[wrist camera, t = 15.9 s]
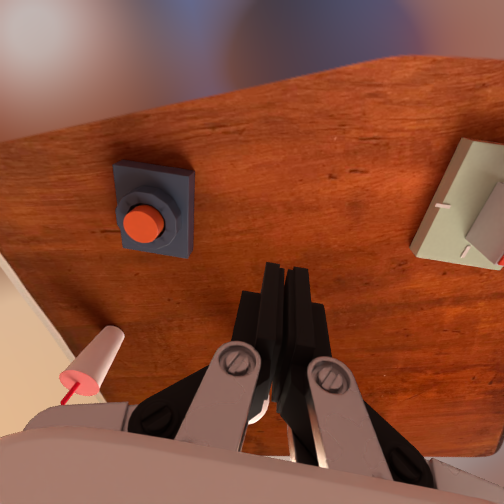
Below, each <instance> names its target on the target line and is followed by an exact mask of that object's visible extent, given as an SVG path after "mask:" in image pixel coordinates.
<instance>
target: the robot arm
mask: <svg viewBox="0 0 504 504" xmlns="http://www.w3.org/2000/svg"><path fill="white" fill-rule="evenodd" d="M272 380H273V382H272ZM271 384H272V402H277V413H280V416H281V417H282V418H283V419H284V421H285V422H286V423H287V424H288V426H287V434H288V441H289V449H290V456H291V461H285V460H280V459H274V458H269V457H264V456H259V455H253V454H248V453H243V452H241V449H242V445H243V442H244V438H245V434H246V431H247V427H248V423H249V421H250V420H251V419H253V418H254V417H255V416H257V415H258V414H259V413H261V411H262V407H263V403H264V400H267V399H268V395H269V391H270V388H271ZM0 504H504V487H501V486H499V485H496V484H494V483H492V482H489V481H486V480H484V479H482V478H480V477H477V476H475V475H472V474H470V473H468V472H465V471H462V470H460V469H458V468H455V467H453V466H451V465H448V464H446V463H443V462H441V461H439V460H436V459H434V458H431V460H430V461H429V460H426V459H424V457H423V456H422V455H421V454H420V453H419V451H418V450H417V449H416V448H415V447H414V446H413V445H411V444H410V443H409V442H408V441H407V440H406V439H405V438H404V437H403V436H402V435H401V434H400V433H398V432H397V431H396V430H395V429H394V428H393V427H392V426H391V425H390V424H389V423H388V422H387V421H385V420H384V419H383V418H382V417H381V416H380V415H379V414H378V413H377V412H376V411H375V410H374V409H372V408H371V407H370V406H369V405H368V404H367V403H366V402H365V401H364V400H363V399H362V396H361V394H360V391H359V388H358V386H357V383H356V380H355V378H354V376H353V374H352V372H351V371H350V369H349V368H348V367H347V366H346V365H345V364H343V363H342V362H341V361H339V360H337V359H334V358H332V355H331V348H330V342H329V335H328V329H327V322H326V316H325V309H324V305H323V304H319V303H313V302H311V294H310V284H309V274H308V269H306V268H300V267H294V268H293V270H290V269H288V272H287V276H286V280H285V285H284V268H280V264H276V263H270V262H266V266H265V272H264V278H263V283H262V289H261V294H260V293H254V292H248V291H242V295H241V299H240V304H239V308H238V313H237V317H236V321H235V326H234V330H233V335H232V339H231V341H230V342H228V343H225V344H223V345H222V346H220V347H219V348H218V350H217V351H216V352H215V354H214V356H213V359H212V361H211V363H210V365H208V366H206V367H204V368H202V369H200V370H199V371H197V372H195V373H193V374H191V375H189V376H188V377H186V378H184V379H182V380H180V381H178V382H177V383H175V384H173V385H171V386H169V387H167V388H166V389H164V390H162V391H160V392H158V393H156V394H155V395H153V396H151V397H149V398H147V399H146V400H144V401H143V402H141V403H140V404H139V405H128V402H113V403H94V404H77V405H76V404H75V405H59V406H55V407H50V408H48V409H46V410H44V411H42V412H40V413H38V414H37V415H36V416H35V417H34V418H32V419H31V420H30V421H29V423H28V424H27V425H26V427H25V428H24V430H23V431H21V432H18V433H13V434H10V435H6V436H3V437H1V438H0Z"/></svg>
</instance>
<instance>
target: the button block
mask: <svg viewBox="0 0 504 504" xmlns="http://www.w3.org/2000/svg"><path fill="white" fill-rule="evenodd" d="M113 173H114V181H115V189H116V197H117V207H116V210H115V211H116V219H117V224H118V226H119V228H120V229H121V237H122V245H123V248H127V249H133V250H139V251H145V252H151V253H157V254H163V255H169V256H175V257H181V258H187V259H188V258H189V256H190V254H191V252H192V251H193V230H194V184H195V171H193V170H186V169H180V168H174V167H167V166H161V165H154V164H148V163H142V162H135V161H129V160H121V161H119V162H117V163H115V164H113ZM139 205H149V206H152V207H154V208H155V209H156V210H158V211H159V212H160V214H161V215H162V217H163V220H164V228H163V230H162V231H161V233H160V234H159V235H158V236H157V237H156V238H155V239H154V240H153V241H152V242H149V243H141V242H137V241H135V240H134V239H132V238H131V237H130V236H129V235H128V234H127V233H126V231H125V229H124V225H123V221H124V218H125V216H126V215H127V214H128V213H129V212H130V211H131V210H133V209H134V208H135V207H136V206H139Z"/></svg>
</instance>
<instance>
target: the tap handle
mask: <svg viewBox="0 0 504 504" xmlns="http://www.w3.org/2000/svg"><path fill="white" fill-rule="evenodd" d="M465 239H466V240H467V241H468V242H469V243H470V244H472V245H473V246H474V247H475V248H476V249H477V250H478V251H479V252H480V253H482V254H483V255H484V256H485V257H486V258H487V259H488V260H489V261H491V262H492V263H493V264H494V265H498V266H504V183H503V182H497V184H496V186H495V187H494V189H493V191H492V193H491V194H490V196H489V198H488V199H487V201H486V203H485V205H484V206H483V208H482V210H481V212H480V213H479V215H478V217H477V218H476V220H475V222H474V224H473V225H472V227H471V229H470V231H469V232H468V234H467V236H466V237H465Z"/></svg>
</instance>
